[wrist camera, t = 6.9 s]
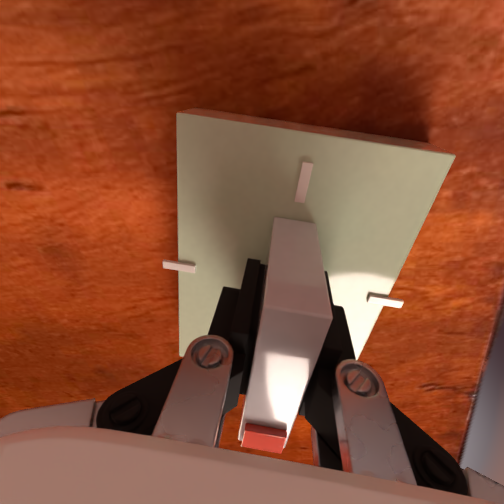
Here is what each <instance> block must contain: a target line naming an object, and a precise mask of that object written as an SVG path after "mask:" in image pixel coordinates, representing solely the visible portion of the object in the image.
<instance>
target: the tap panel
mask: <svg viewBox="0 0 504 504" xmlns="http://www.w3.org/2000/svg"><path fill="white" fill-rule="evenodd" d="M176 129H177V210H178V262H177V261H171V260H165V259H164V260H163V268H166V269H172V270H178V291H179V356H182V357H184V355H185V352H186V350H187V348H188V346H189V344H190V343H191V342H192V341H193V340H195V339H196V338H198V337H200V336H204V335H208V332H209V329H210V326H211V323H212V319H213V316H214V313H215V310H216V307H217V304H218V301H219V298H220V295H221V291H222V289H223V287H224V286H225V287H231V288H237V289H241V284H242V280H243V276H244V272H245V267H246V263H247V259H248V258H251V259H257V260H261V262H260V264H265V263H266V257H267V252H268V246H269V241H270V235H271V230H272V224H273V219H274V217H279V218H285V219H292V220H298V221H304V222H310V223H315V224H316V226H317V232H318V237H319V243H320V249H321V254H322V260H323V265H324V271H327V273H328V278H329V283H330V288H331V293H332V298H333V303H334V305H337V306H342V307H343V308H344V311H345V315H346V319H347V323H348V327H349V332H350V336H351V340H352V344H353V348H354V352H355V357H356V360H358V358H359V356H360V354H361V351H362V349H363V347H364V345H365V343H366V341H367V339H368V337H369V335H370V333H371V331H372V329H373V327H374V324H375V322H376V320H377V318H378V316H379V314H380V312H381V310H382V308H383V306H384V305H385V306H391V307H397V308H401V306H402V305H403V303H404V301H403V300H402V299H396V298H390V297H388V295H389V293H390V291H391V289H392V287H393V285H394V283H395V281H396V279H397V277H398V275H399V273H400V270H401V268H402V266H403V264H404V262H405V260H406V258H407V256H408V254H409V252H410V250H411V248H412V246H413V243H414V241H415V239H416V237H417V235H418V233H419V231H420V229H421V227H422V225H423V223H424V221H425V218H426V216H427V214H428V212H429V210H430V208H431V206H432V204H433V202H434V200H435V198H436V196H437V194H438V191H439V189H440V187H441V185H442V183H443V181H444V179H445V177H446V175H447V173H448V171H449V169H450V167H451V164H452V162H453V160H454V158H455V154H453V153H451V152H448V151H446V150H444V149H442V148H440V147H438V146H435V145H433V144H431V143H427V142H421V141H414V140H407V139H401V138H394V137H387V136H381V135H374V134H367V133H361V132H354V131H347V130H341V129H334V128H327V127H321V126H314V125H308V124H301V123H294V122H288V121H281V120H274V119H268V118H261V117H254V116H248V115H241V114H234V113H228V112H221V111H214V110H208V109H201V108H191V109H188V110H184V111H181V112H178V113H177V114H176Z"/></svg>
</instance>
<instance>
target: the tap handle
mask: <svg viewBox="0 0 504 504" xmlns="http://www.w3.org/2000/svg"><path fill="white" fill-rule="evenodd" d="M332 319H333V316H332V310H331V305H330V299H329V294H328V288H327V282H326V277H325V271H324V265H323V260H322V254H321V249H320V243H319V237H318V232H317V226H316V224H315V223H310V222H304V221H298V220H292V219H285V218H279V217H274V219H273V224H272V230H271V235H270V241H269V246H268V252H267V257H266V263H265V272H264V280H263V287H262V295H261V303H260V310H259V318H258V326H257V333H256V339H255V345H254V350H253V355H252V361H251V366H250V371H249V377H248V382H247V387H246V393H245V395H244V398H243V405H242V412H241V419H240V425H239V432H238V440H241V441H242V446H243V447H248V448H253V449H259V450H264V451H269V452H275V453H280V454H281V453H282V450H283V448H285V446H286V443H287V440H288V438H289V435H290V432H291V429H292V427H293V424H294V421H295V419H296V416H297V413H298V411H299V408H300V405H301V403H302V400H303V397H304V395H305V392H306V389H307V386H308V384H309V381H310V378H311V376H312V373H313V370H314V368H315V365H316V362H317V360H318V357H319V354H320V352H321V349H322V346H323V344H324V341H325V338H326V335H327V333H328V330H329V327H330V325H331V322H332Z"/></svg>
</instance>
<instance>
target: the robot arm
mask: <svg viewBox="0 0 504 504" xmlns="http://www.w3.org/2000/svg"><path fill="white" fill-rule="evenodd" d="M260 262H261V260H257V259H251V258H248V259H247V263H246V267H245V272H244V276H243V280H242V284H241V289H237V288H231V287H225V286H224V287H223V289H222V291H221V295H220V298H219V301H218V304H217V307H216V310H215V313H214V316H213V319H212V323H211V326H210V329H209V332H208V335H204V336H200V337H198V338H196V339H195V340H193V341H192V342H191V343H190V344H189V346H188V348H187V350H186V352H185V355H184V357H183V359H181V360H179V361H177V362H175V363H173V364H171V365H169V366H167V367H165V368H163V369H161V370H159V371H157V372H155V373H153V374H151V375H149V376H147V377H145V378H143V379H141V380H139V381H137V382H135V383H133V384H131V385H129V386H127V387H125V388H123V389H121V390H119V391H117V392H115V393H114V394H112V395H111V396H109V397H108V398H107V399H106V400H103V401H97V402H96V400H95V398H93V399H87V400H81V401H74V402H68V403H62V404H56V405H49V406H43V407H37V408H31V409H24V410H20V411H16V412H13V413H10V414H8V415H6V416H5V417H3V418H1V419H0V504H504V486H503V485H501V484H499V483H497V482H495V481H493V480H492V479H490V478H487V477H486V476H483V475H482V474H480V473H478V472H476V471H474V470H472V469H470V468H468V467H467V468H466V469H465V470H464V469H462V468H460V466H459V465H458V463H457V462H456V460H455V459H454V458H453V457H452V456H451V455H450V454H449V453H448V452H447V451H446V450H445V449H444V448H442V447H441V446H440V445H439V444H438V443H437V442H435V441H434V440H433V439H432V438H431V437H430V436H429V435H427V434H426V433H425V432H424V431H423V430H422V429H421V428H419V427H418V426H417V425H416V424H415V423H414V422H412V421H411V420H410V419H409V418H408V417H407V416H406V415H404V414H403V413H402V412H401V411H400V410H399V409H398V408H396V407H395V406H394V405H393V404H392V403H391V402H390V401H389V398H388V395H387V392H386V389H385V386H384V383H383V381H382V379H381V377H380V376H379V374H378V373H377V372H376V371H375V370H374V369H373V368H372V367H370V366H369V365H368V364H366V363H364V362H362V361H358V360H356V357H355V352H354V348H353V344H352V340H351V336H350V332H349V327H348V323H347V319H346V315H345V311H344V308H343V307H342V306H337V305H334V303H333V298H332V293H331V288H330V283H329V278H328V273H327V271H325V277H326V282H327V288H328V294H329V299H330V305H331V310H332V316H333V319H332V322H331V325H330V327H329V330H328V333H327V335H326V338H325V341H324V344H323V346H322V349H321V352H320V354H319V357H318V360H317V362H316V365H315V368H314V370H313V373H312V376H311V378H310V381H309V384H308V386H307V389H306V392H305V395H304V397H303V400H302V403H301V405H300V408H299V415H303V416H305V418H306V420H307V421H308V422H309V423H310V424H311V425H312V426H311V438H312V451H313V464H314V466H312V465H307V464H301V463H296V462H291V461H285V460H280V459H275V458H269V457H264V456H259V455H253V454H248V453H243V452H237V451H232V450H226V449H221V448H219V443H220V439H221V434H222V429H223V424H224V420H225V414H226V413H227V412H228V411H230V410H231V409H233V408H234V407H236V406H237V403H238V397H239V394H243V395H245V393H246V387H247V382H248V377H249V371H250V366H251V361H252V355H253V350H254V345H255V339H256V333H257V326H258V318H259V310H260V303H261V295H262V287H263V280H264V272H265V264H260Z"/></svg>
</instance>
